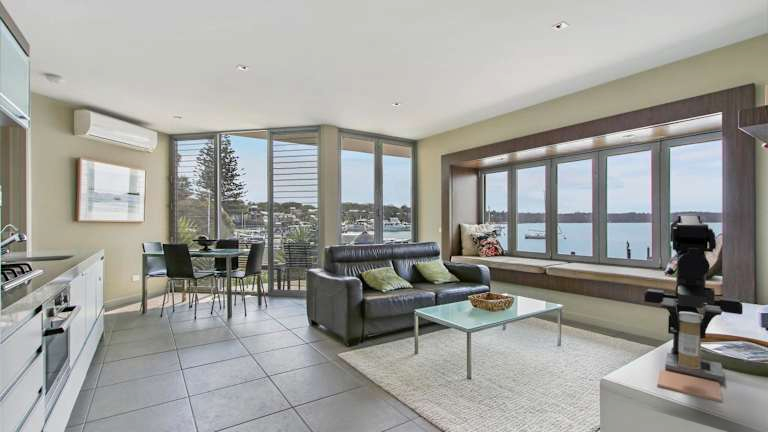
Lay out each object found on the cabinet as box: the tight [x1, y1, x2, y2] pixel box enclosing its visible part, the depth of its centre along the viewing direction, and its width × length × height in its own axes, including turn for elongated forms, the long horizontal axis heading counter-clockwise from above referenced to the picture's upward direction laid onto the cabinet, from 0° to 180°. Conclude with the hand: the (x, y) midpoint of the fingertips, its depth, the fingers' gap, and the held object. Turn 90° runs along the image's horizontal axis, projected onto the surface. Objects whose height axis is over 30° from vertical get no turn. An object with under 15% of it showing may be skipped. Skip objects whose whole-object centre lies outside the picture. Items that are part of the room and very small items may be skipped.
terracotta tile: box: [657, 369, 723, 403], centre depth 94 cm, size 12×12×1 cm
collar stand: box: [664, 352, 725, 385], centre depth 103 cm, size 12×12×2 cm
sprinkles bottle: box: [678, 312, 703, 369], centre depth 94 cm, size 5×5×13 cm
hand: (689, 334), depth 94 cm, fingers closed on sprinkles bottle, 4 cm apart
